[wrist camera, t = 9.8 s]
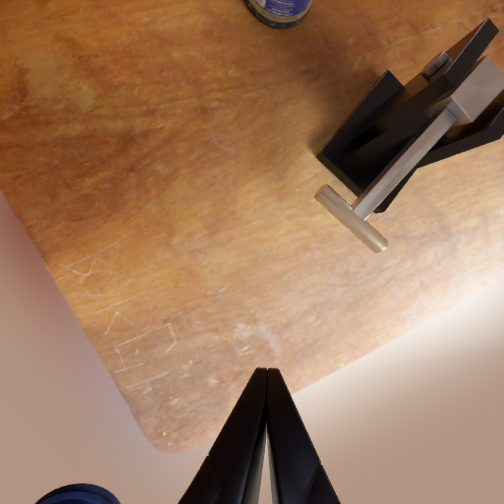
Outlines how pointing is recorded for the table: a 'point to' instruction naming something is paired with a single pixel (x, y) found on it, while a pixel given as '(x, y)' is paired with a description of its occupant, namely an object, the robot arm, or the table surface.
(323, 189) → the switch lever
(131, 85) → the table surface
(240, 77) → the table surface
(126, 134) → the table surface
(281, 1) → the pill bottle
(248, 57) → the table surface
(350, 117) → the switch bracket
